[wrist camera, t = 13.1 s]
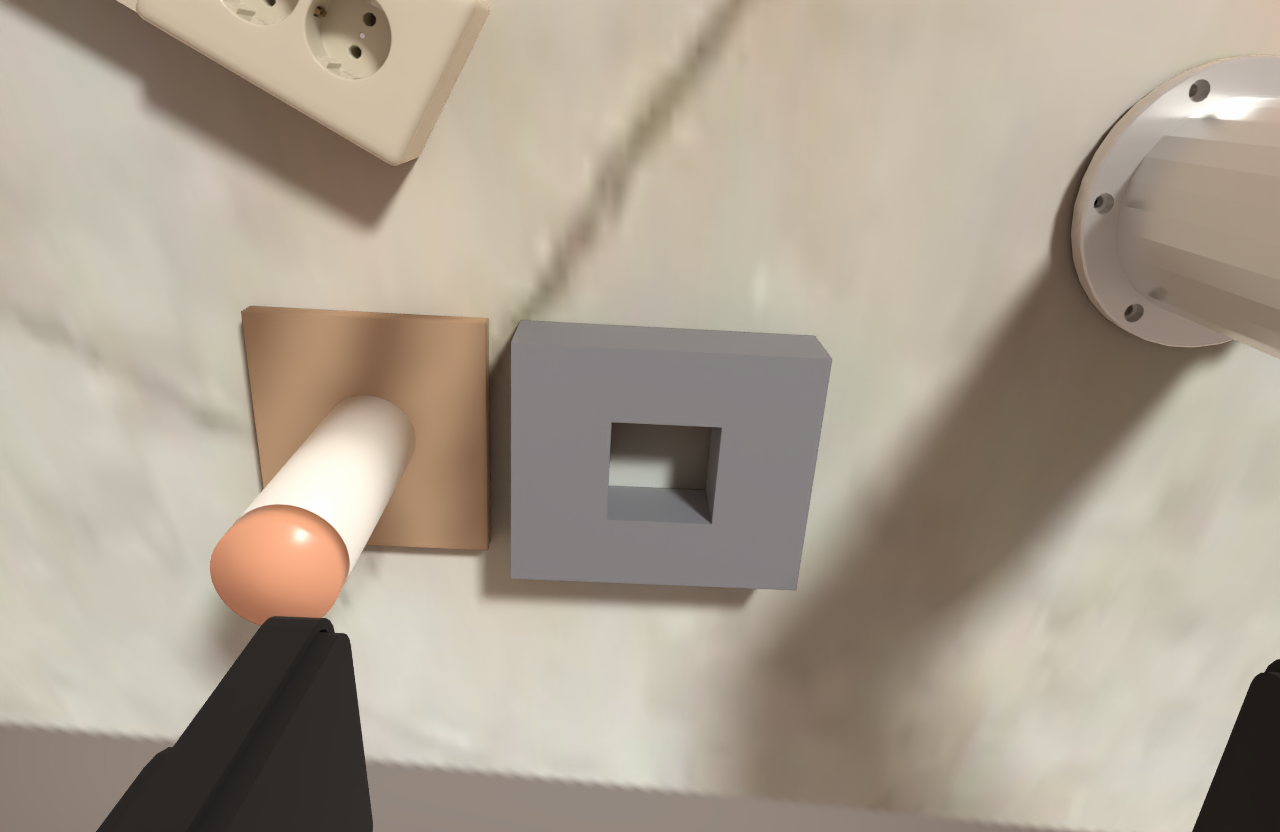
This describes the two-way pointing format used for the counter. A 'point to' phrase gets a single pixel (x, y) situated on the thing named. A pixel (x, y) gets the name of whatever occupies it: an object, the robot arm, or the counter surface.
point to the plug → (315, 514)
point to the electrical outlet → (338, 58)
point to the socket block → (666, 395)
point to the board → (400, 373)
